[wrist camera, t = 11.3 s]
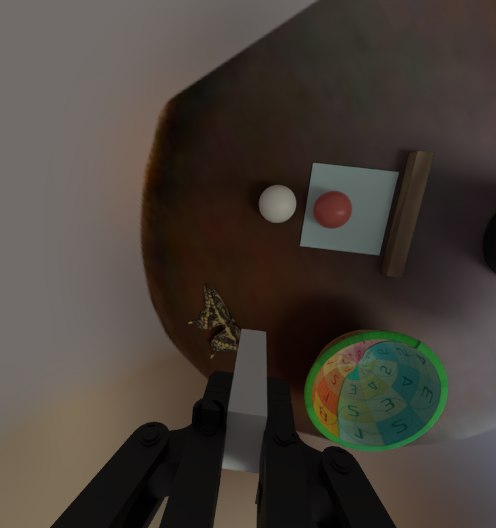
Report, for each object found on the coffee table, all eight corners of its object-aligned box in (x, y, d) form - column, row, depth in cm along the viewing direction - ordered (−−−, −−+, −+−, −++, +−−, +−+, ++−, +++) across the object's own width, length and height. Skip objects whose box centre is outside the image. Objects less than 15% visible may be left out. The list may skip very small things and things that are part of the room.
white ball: (257, 180, 44) (290, 186, 45) (251, 216, 46) (283, 220, 47) (270, 183, 38) (306, 189, 40) (262, 224, 40) (297, 228, 42)
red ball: (309, 186, 42) (332, 191, 46) (302, 224, 44) (324, 225, 47) (341, 190, 38) (364, 195, 41) (331, 231, 39) (354, 232, 43)
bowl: (355, 426, 55) (375, 474, 46) (273, 364, 53) (275, 400, 43) (439, 354, 50) (480, 390, 41) (352, 282, 48) (375, 303, 38)
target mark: (398, 172, 43) (398, 172, 43) (378, 255, 47) (379, 255, 47) (313, 162, 44) (313, 162, 44) (299, 245, 47) (299, 245, 47)
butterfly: (172, 303, 52) (207, 278, 48) (183, 297, 55) (216, 273, 51) (223, 382, 51) (262, 364, 47) (231, 371, 55) (268, 353, 50)
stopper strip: (424, 155, 43) (434, 152, 40) (394, 273, 47) (401, 277, 45) (409, 153, 43) (417, 150, 40) (380, 272, 47) (386, 275, 45)
